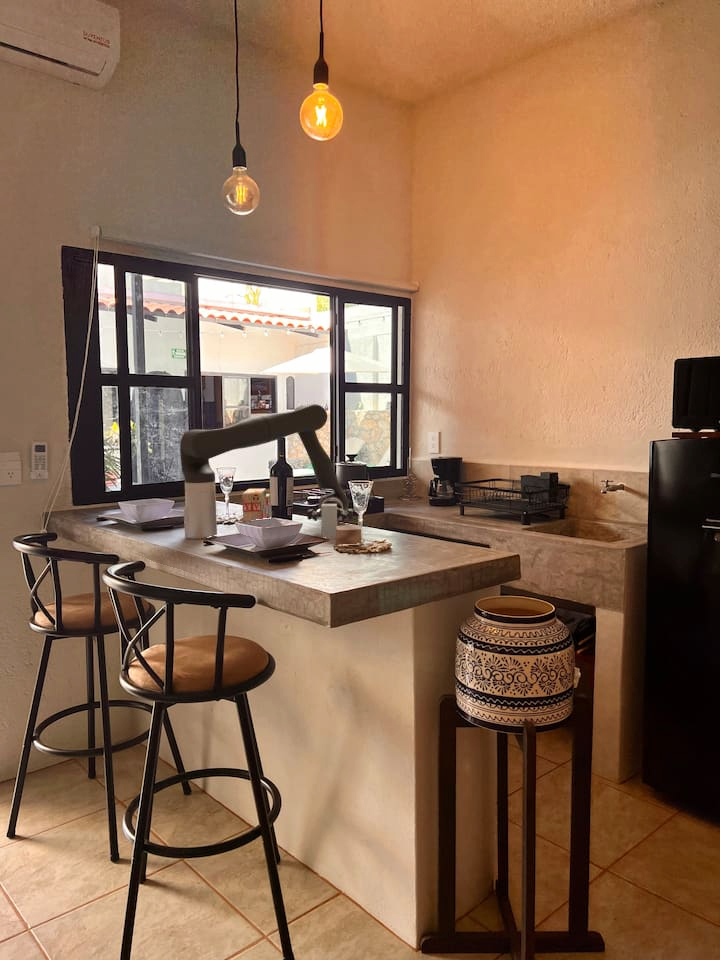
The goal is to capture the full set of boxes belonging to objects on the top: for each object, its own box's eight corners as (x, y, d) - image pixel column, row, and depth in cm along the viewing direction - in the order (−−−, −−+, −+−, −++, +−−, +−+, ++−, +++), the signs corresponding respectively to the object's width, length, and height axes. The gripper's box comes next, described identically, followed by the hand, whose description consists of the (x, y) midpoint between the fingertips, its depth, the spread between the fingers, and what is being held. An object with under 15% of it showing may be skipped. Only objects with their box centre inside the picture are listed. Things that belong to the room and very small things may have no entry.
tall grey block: (322, 538, 209) (321, 505, 208) (322, 535, 213) (322, 503, 212) (336, 538, 209) (336, 505, 208) (337, 535, 213) (336, 503, 212)
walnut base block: (337, 547, 196) (336, 529, 196) (336, 542, 203) (335, 525, 203) (361, 546, 197) (361, 529, 196) (359, 541, 204) (359, 525, 203)
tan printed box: (254, 519, 248) (253, 485, 246) (271, 519, 247) (270, 485, 246) (243, 529, 226) (241, 492, 225) (262, 529, 226) (260, 492, 225)
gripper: (309, 498, 226) (305, 505, 210) (353, 498, 226) (352, 505, 210) (310, 521, 227) (306, 529, 211) (353, 520, 227) (352, 529, 211)
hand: (329, 517), depth 211 cm, fingers open, 8 cm apart
